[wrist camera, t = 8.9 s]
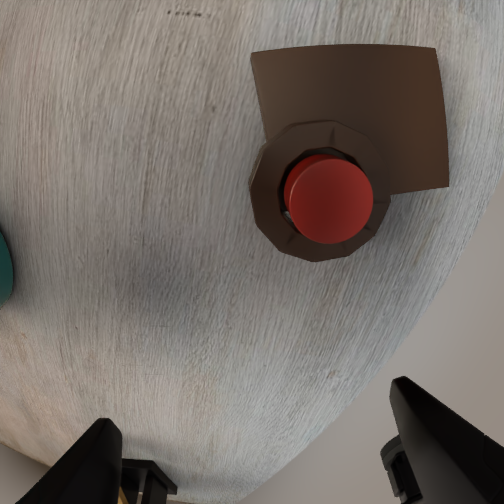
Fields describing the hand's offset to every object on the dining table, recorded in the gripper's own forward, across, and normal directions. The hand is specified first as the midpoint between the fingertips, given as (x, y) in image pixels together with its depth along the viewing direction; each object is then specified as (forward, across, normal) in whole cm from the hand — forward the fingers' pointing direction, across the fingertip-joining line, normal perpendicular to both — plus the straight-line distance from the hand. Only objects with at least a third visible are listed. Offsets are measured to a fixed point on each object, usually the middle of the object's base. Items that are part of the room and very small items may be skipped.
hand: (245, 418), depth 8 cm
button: (+8, -4, -4) cm, 10 cm away
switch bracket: (+11, +18, +26) cm, 33 cm away
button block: (+11, -7, -6) cm, 14 cm away
